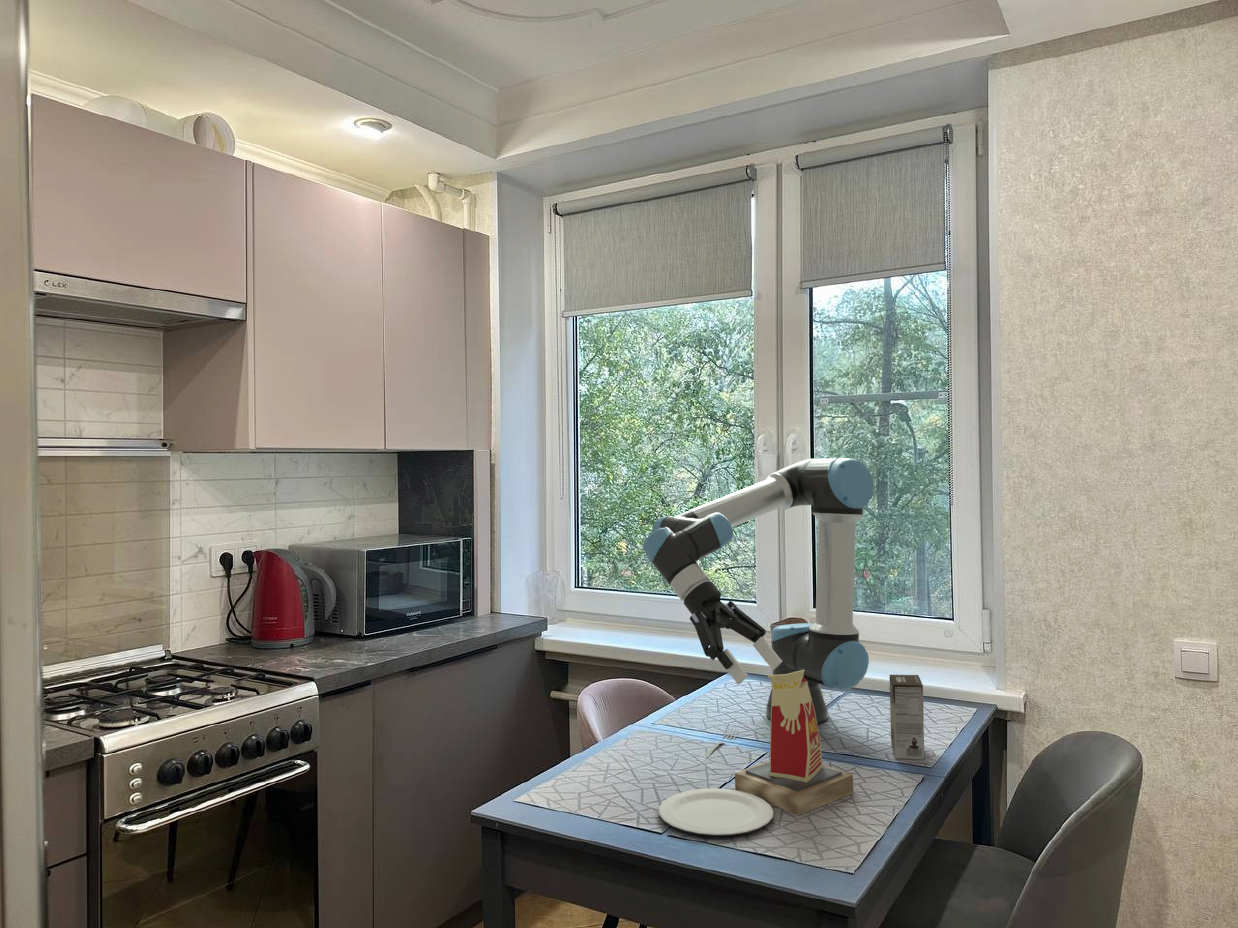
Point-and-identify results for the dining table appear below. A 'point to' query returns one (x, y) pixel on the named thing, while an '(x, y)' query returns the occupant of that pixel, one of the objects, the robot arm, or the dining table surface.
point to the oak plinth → (794, 788)
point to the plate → (716, 812)
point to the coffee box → (907, 716)
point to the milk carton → (793, 729)
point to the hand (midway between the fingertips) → (761, 672)
